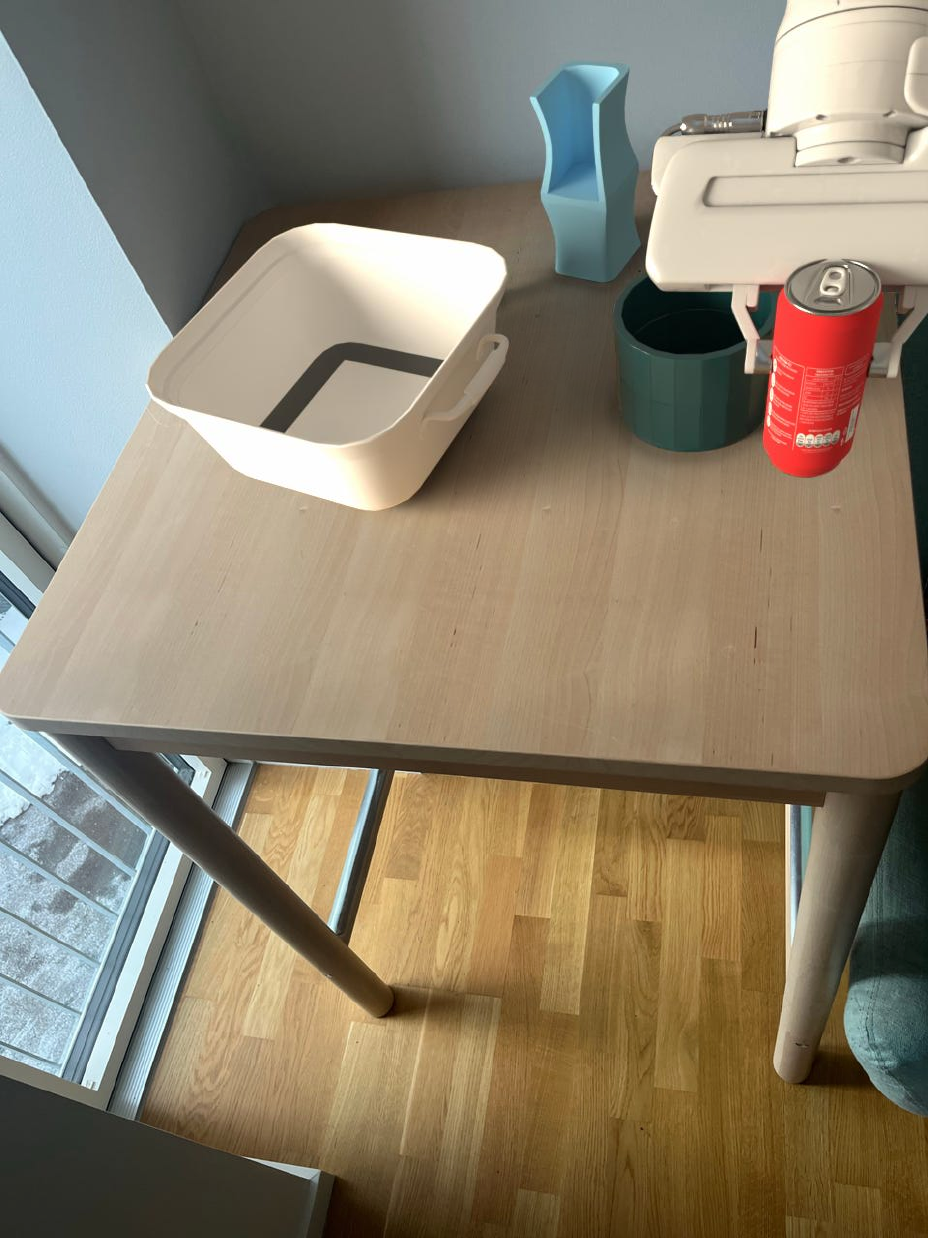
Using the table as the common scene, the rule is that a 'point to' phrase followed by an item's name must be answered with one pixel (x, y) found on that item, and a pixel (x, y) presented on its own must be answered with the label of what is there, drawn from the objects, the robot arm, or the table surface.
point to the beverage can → (820, 364)
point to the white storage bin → (340, 360)
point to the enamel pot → (687, 366)
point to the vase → (588, 168)
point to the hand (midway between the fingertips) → (819, 375)
